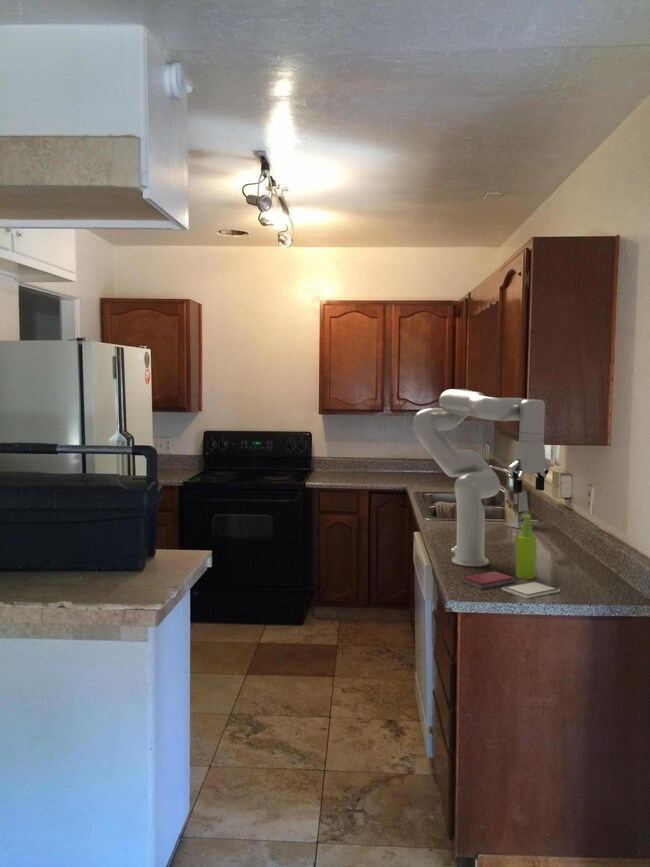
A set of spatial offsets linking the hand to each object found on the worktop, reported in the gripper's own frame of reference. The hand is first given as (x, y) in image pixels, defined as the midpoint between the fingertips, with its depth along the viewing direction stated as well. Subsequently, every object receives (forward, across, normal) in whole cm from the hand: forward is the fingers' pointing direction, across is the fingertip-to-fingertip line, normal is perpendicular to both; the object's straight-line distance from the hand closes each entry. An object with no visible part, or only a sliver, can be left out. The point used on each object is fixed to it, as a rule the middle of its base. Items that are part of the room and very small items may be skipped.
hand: (528, 491), depth 226 cm
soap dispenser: (+28, 0, 0) cm, 28 cm away
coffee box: (+30, -57, -62) cm, 89 cm away
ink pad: (+28, +16, 0) cm, 32 cm away
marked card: (+28, +10, +13) cm, 32 cm away
